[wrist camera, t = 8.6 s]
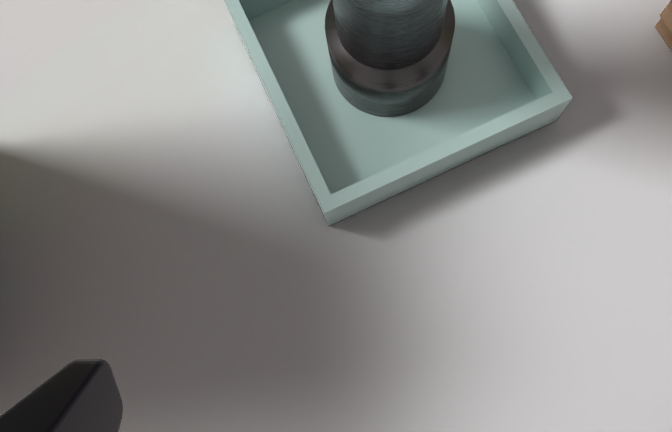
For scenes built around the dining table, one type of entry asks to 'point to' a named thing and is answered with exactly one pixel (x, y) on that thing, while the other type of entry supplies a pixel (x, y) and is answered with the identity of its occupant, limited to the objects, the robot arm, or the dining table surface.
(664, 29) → the socket block
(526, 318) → the dining table surface
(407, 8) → the grey cylinder
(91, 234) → the dining table surface
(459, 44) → the tray
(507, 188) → the dining table surface
